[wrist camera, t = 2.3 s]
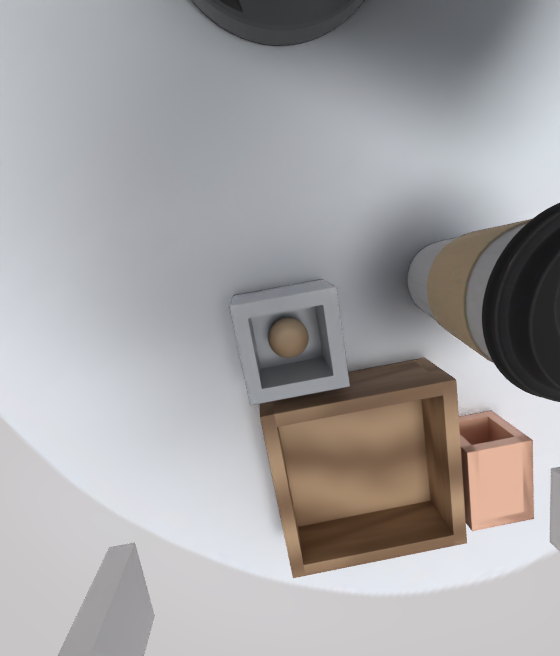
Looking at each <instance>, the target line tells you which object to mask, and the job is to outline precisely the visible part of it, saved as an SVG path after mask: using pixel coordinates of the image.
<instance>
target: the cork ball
mask: <svg viewBox="0 0 560 656" xmlns="http://www.w3.org/2000/svg"><path fill="white" fill-rule="evenodd" d="M308 340H309V335H308V331H307V328H306V327H305V325H304V324H303V323H302V322H301V321H299V320H298V319H295V318H291V317H286V318H282V319H279V320H277V321H276V322H275V323H274V324H273V325H272V326H271V328H270V330H269V333H268V342H269V345H270V347H271V349H272V350H273V352H274V353H276V354H277V355H279V356H281V357H284V358H293V357H296V356H298V355H300V354H301V353H302V352H303V351H304V350H305V349H306V347H307V345H308Z"/></svg>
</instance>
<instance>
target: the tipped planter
mask: <svg viewBox="0 0 560 656" xmlns="http://www.w3.org/2000/svg"><path fill="white" fill-rule="evenodd" d="M459 431H460V446H461V461H462V476H463V491H464V507H465V522H466V524H467V525H468V526H469V528H470V529H471V530H472V531H475V530H480V529H485V528H490V527H495V526H500V525H505V524H510V523H515V522H520V521H525V520H530V519H534V500H533V440H532V439H530V438H529V437H528V436H526V435H525V434H523V433H522V432H521V431H519V430H518V429H516V428H515V427H514V426H512V425H511V424H509V423H508V422H507V421H505V420H504V419H502V418H501V417H500V416H498V415H497V414H495V413H494V412H493V411H486V412H481V413H476V414H470V415H465V416H460V417H459Z"/></svg>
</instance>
